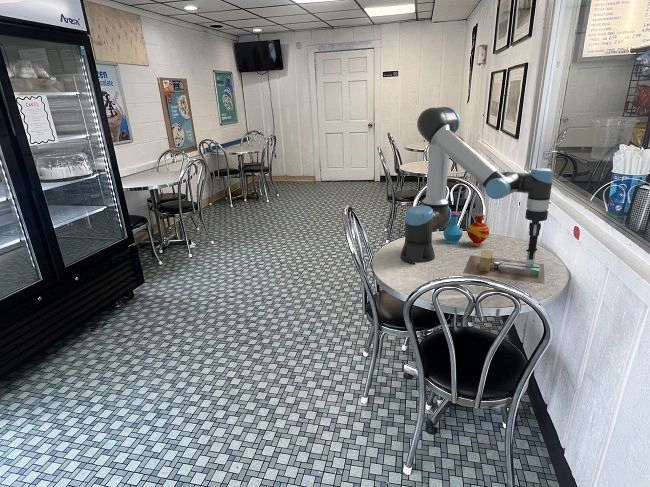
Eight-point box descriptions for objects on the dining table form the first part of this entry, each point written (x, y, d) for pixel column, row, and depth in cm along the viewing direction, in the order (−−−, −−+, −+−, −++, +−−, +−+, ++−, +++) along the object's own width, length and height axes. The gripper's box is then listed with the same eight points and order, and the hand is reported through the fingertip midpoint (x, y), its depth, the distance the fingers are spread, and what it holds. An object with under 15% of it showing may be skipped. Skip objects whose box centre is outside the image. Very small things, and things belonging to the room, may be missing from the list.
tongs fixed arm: (476, 268, 162) (477, 262, 161) (477, 265, 165) (478, 259, 164) (538, 276, 152) (539, 270, 151) (538, 273, 155) (539, 267, 154)
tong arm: (491, 269, 160) (492, 263, 159) (491, 265, 164) (492, 259, 163) (538, 274, 153) (539, 267, 152) (537, 270, 157) (538, 264, 156)
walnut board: (462, 275, 159) (463, 272, 159) (470, 257, 177) (470, 255, 176) (544, 286, 146) (544, 283, 146) (543, 266, 164) (543, 264, 163)
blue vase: (462, 244, 194) (465, 215, 189) (443, 244, 196) (445, 214, 191) (460, 238, 202) (462, 210, 197) (442, 238, 204) (443, 210, 199)
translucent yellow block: (478, 270, 160) (480, 257, 158) (481, 262, 167) (482, 249, 165) (489, 272, 158) (490, 258, 156) (491, 264, 165) (492, 250, 164)
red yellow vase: (461, 242, 196) (463, 213, 191) (479, 240, 199) (481, 211, 194) (475, 249, 187) (477, 218, 182) (493, 246, 189) (496, 216, 185)
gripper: (548, 214, 144) (540, 273, 151) (547, 206, 155) (540, 261, 162) (525, 212, 147) (518, 270, 155) (526, 204, 158) (519, 259, 166)
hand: (529, 266), depth 158 cm, fingers closed
